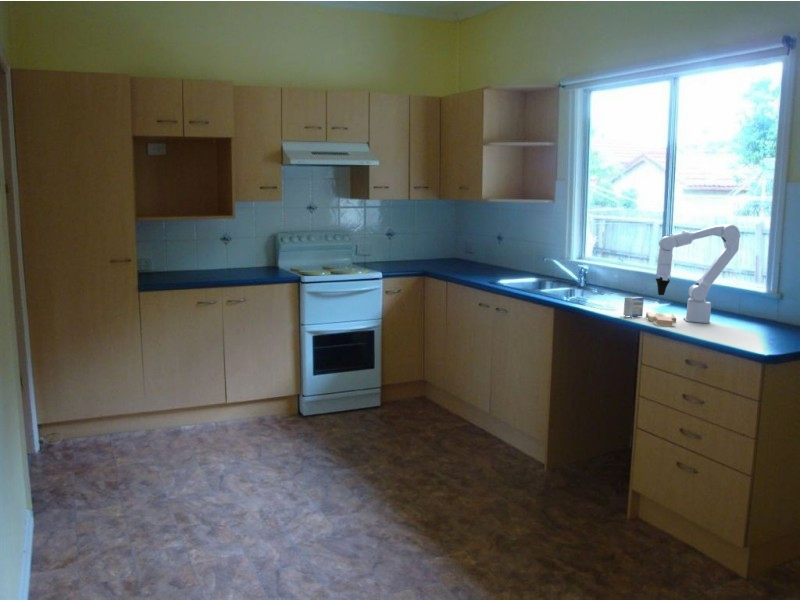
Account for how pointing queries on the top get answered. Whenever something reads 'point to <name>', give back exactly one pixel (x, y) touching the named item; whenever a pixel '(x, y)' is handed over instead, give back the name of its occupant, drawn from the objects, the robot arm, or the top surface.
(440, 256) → the top surface
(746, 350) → the top surface
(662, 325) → the mat
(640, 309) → the medicine box
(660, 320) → the salmon pink flat block
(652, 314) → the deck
